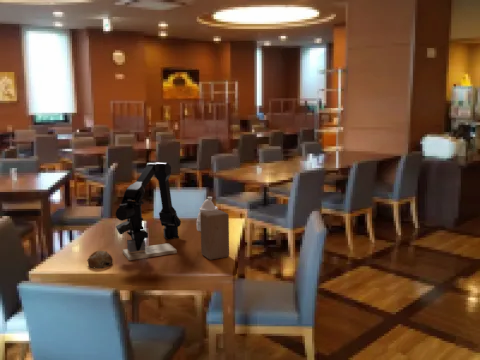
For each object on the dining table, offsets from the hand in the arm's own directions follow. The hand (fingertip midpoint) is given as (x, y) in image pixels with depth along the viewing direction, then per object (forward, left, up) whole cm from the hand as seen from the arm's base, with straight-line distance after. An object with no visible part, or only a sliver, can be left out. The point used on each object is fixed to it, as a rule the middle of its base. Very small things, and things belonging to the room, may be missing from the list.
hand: (136, 249), depth 216 cm
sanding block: (0, 0, -1) cm, 1 cm away
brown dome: (+18, +5, -3) cm, 19 cm away
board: (-6, 0, -3) cm, 6 cm away
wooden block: (-31, +18, -3) cm, 36 cm away
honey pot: (-46, -26, -3) cm, 53 cm away
